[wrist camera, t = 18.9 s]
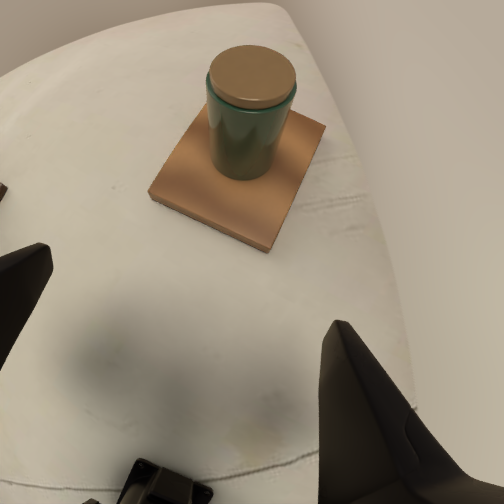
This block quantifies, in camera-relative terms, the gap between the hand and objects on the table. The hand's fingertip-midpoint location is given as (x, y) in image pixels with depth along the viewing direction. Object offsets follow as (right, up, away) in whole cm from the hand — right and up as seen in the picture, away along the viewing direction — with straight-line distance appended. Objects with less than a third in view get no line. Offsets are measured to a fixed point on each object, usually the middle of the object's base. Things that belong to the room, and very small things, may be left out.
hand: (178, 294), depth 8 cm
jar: (+1, +9, +15) cm, 17 cm away
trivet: (+1, +8, +16) cm, 18 cm away
